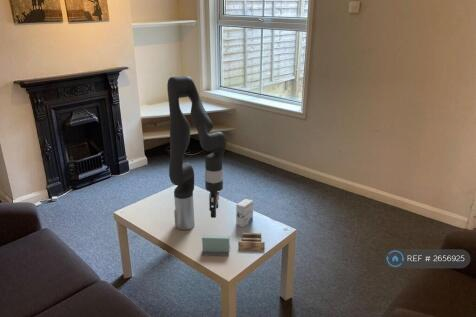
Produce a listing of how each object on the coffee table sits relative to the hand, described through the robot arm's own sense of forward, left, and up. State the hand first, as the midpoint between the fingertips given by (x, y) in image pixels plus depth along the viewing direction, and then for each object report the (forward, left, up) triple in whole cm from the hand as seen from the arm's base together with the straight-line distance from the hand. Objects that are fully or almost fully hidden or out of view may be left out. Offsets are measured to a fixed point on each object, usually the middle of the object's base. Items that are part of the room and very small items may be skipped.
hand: (214, 212), depth 166 cm
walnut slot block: (+16, +9, -20) cm, 27 cm away
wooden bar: (+16, +2, -20) cm, 26 cm away
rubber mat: (0, 0, -20) cm, 20 cm away
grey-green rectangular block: (-6, 0, -16) cm, 17 cm away
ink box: (+12, +26, -20) cm, 35 cm away
